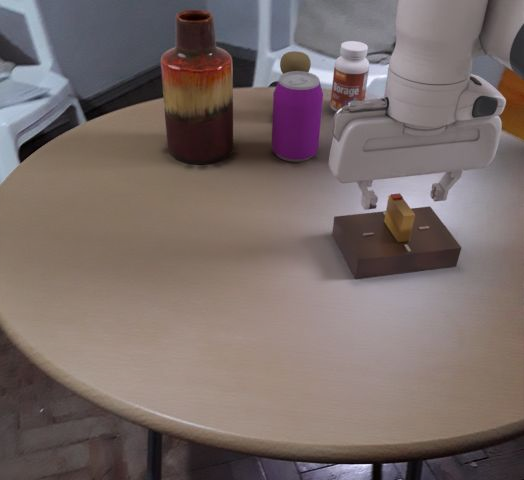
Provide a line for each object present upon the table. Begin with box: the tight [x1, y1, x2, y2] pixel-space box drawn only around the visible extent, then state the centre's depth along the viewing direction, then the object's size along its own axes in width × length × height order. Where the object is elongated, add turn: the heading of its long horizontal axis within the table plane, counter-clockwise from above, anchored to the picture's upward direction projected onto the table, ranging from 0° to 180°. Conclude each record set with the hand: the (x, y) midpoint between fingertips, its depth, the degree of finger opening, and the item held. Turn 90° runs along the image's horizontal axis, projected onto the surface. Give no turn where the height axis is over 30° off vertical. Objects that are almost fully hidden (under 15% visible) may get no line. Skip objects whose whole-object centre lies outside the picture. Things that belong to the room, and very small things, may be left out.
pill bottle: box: [329, 40, 371, 113], centre depth 113 cm, size 6×6×11 cm
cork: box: [279, 50, 312, 74], centre depth 109 cm, size 6×6×11 cm
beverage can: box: [271, 71, 324, 163], centre depth 100 cm, size 8×8×12 cm
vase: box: [160, 9, 234, 165], centre depth 97 cm, size 11×11×20 cm
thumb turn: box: [384, 192, 415, 242], centre depth 81 cm, size 5×2×4 cm, turn 13°
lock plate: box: [331, 206, 462, 280], centre depth 84 cm, size 14×10×3 cm
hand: (403, 202), depth 80 cm, fingers open, 8 cm apart
